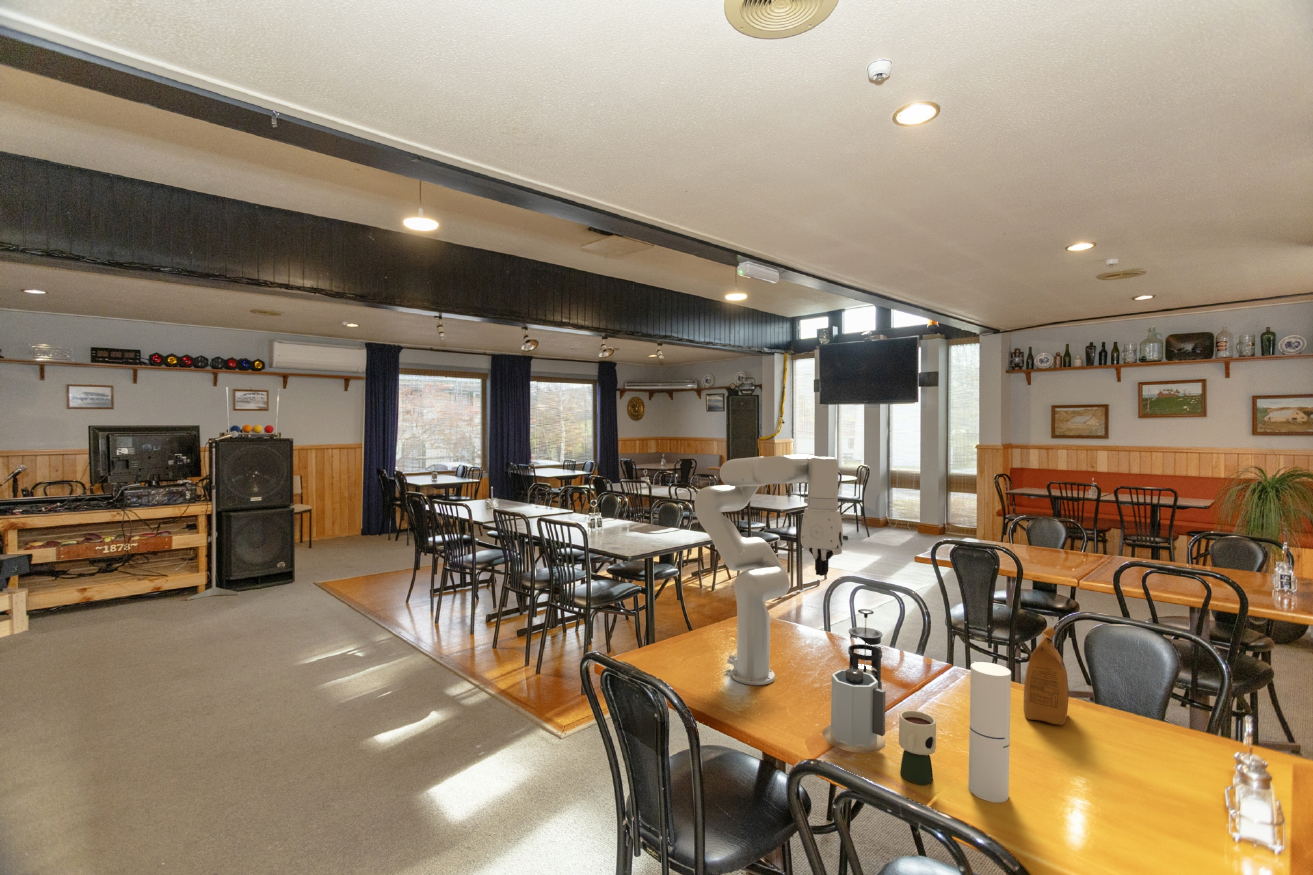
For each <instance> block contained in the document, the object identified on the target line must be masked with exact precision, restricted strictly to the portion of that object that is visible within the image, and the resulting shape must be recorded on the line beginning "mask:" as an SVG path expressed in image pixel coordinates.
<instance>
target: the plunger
mask: <svg viewBox="0 0 1313 875" xmlns="http://www.w3.org/2000/svg"><path fill="white" fill-rule="evenodd" d="M845 670H846V681H847V682H849V683H852V685H857V684H862V683H863V681H864V673H863V672H862V671H860V670H857V669H849V668H847V669H845Z"/></svg>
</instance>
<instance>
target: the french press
mask: <svg viewBox="0 0 1313 875" xmlns="http://www.w3.org/2000/svg"><path fill="white" fill-rule="evenodd" d="M857 612H858V613H860V614H862V615H863V618H864V627H860V626H858V627H857V626H856V627H852V628H849V629H848V633H849V636H850V637H849V639H851V640H852V638H854V637H855V638H859V639H860V640H862V641H863V642H864V644H863V643H862V644H859V643H858V644H857V643H856V644H852V645H849V646H848V647H847V649H848V651H847V653H848V655H849V666H848V669H857V670H860V671H862V672H864V673H868V674H871V675H873V677H874V678H875V679H876V680H877V681H878V689H881V690H883V682H882V679H881V678H882V658H883V650H882V647H881V646H879V645H880V644H881V643H882V638H883V636H884V634H883V632H881V631H880V630H877V629H875V628H871V627H867V619H868V615H873V614H874V610H871V609H866V608H863V609H862V608H861V609H858V611H857ZM855 650H864V654H861V653H856V652H855ZM867 651H871V655H867ZM860 660H861V661H864V663H863V664H862V663H860V662H859V661H860ZM867 661H869V662H870V664H871V665H870V664H867Z"/></svg>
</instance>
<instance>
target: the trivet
mask: <svg viewBox="0 0 1313 875" xmlns="http://www.w3.org/2000/svg"><path fill="white" fill-rule="evenodd" d="M822 736H823V738H824V739H825V741H826V742H828V744H830V745H832V746H833V747H835V748H838V749H841V750H844V751H846V752H851V753H854V754H855V753H856V754H870V753H877V752H879V751H881V750H882V749H883V748H885V747H886V738H884V736H880V735H877V742H876V743H875V744H874V745H873V746H871V747H870V748H851V747H849V746H846V745H843V744H841V743H839V742H836V741H835V739H834V738H833V736H832V734H831V724H829V725H827V726H826V727H825V728H824V729H823V731H822Z"/></svg>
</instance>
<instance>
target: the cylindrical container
mask: <svg viewBox="0 0 1313 875" xmlns="http://www.w3.org/2000/svg"><path fill="white" fill-rule="evenodd" d="M969 678H970V679H969V680H970V681H969V682H970V684H969V685H970V686H969V688H970V689H969V730H968V731H969V734H968V736H969V740H968V742H969V743H968V784H967V786H968V790H969V792H971V793H972V794H973V796H975V797H977V798H979V799H980V800H984V801H986V802H990V803H999V804H1000V803H1004V802H1007V801H1008V800H1009V794H1010V793H1009V792H1010V790H1009V789H1010V746H1011V745H1010V742H1011V741H1010V740H1011V736H1010V735H1011V733H1010V732H1011V699H1012V698H1011V695H1012V694H1011V693H1012V692H1011V691H1012V690H1011V689H1012V686H1011V685H1012V671H1011V669H1009V668H1007V667H1006V666H1004V665H1001V664H998V663H993V662H986V661H984V662H983V661H977V662H972V663H971V664H970V677H969Z"/></svg>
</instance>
